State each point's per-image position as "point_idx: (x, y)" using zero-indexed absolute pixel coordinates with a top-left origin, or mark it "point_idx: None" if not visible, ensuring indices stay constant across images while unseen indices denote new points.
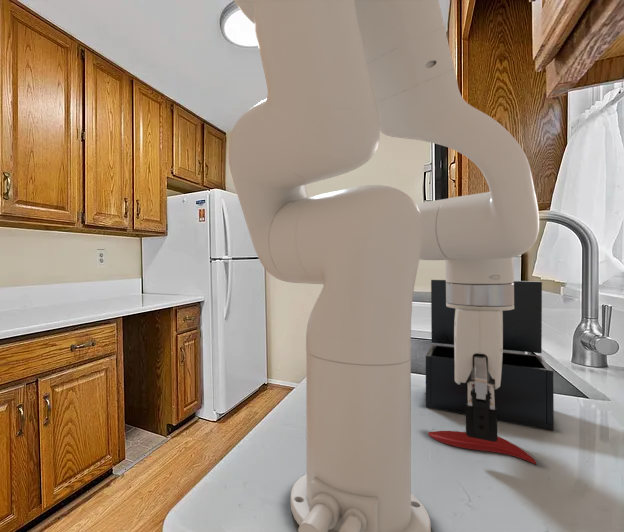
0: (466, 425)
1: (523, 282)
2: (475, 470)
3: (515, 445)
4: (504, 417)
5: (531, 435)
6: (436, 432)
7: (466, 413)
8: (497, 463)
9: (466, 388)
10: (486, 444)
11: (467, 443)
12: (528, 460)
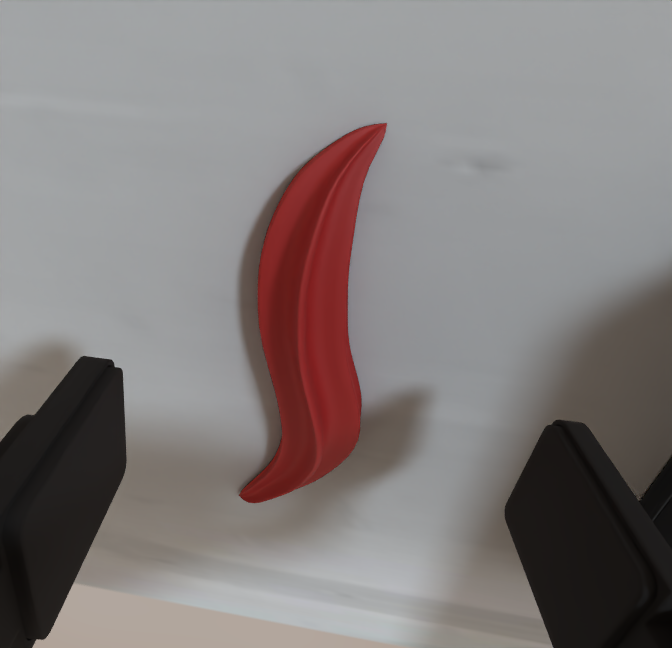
0: (53, 394)
1: None
2: (30, 304)
3: (296, 487)
4: (662, 500)
5: None
6: (332, 180)
7: (5, 460)
8: (169, 390)
9: (639, 537)
10: (280, 394)
11: (259, 320)
12: (252, 483)
